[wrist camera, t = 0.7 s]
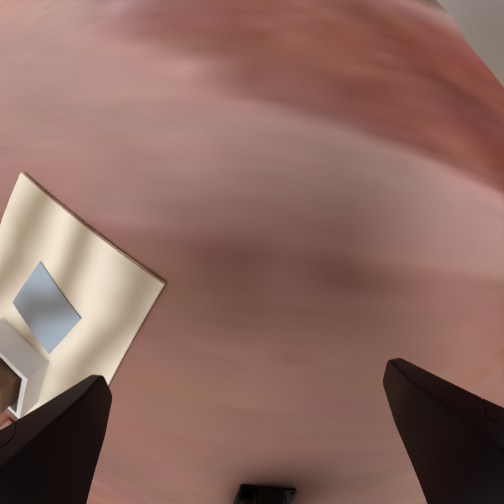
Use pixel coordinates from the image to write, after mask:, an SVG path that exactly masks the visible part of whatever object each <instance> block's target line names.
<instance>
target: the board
mask: <svg viewBox="0 0 504 504" xmlns="http://www.w3.org/2000/svg"><path fill="white" fill-rule="evenodd" d="M165 284H166V282H164V281H163V280H161V279H160V278H158V277H157V276H155V275H154V274H153V273H151V272H150V271H148V270H147V269H145V268H144V267H143V266H141V265H140V264H138V263H137V262H136V261H134V260H133V259H132V258H130V257H129V256H127V255H126V254H125V253H123V252H122V251H121V250H119V249H118V248H117V247H115V246H114V245H113V244H111V243H110V242H109V241H107V240H106V239H105V238H103V237H102V236H101V235H99V234H98V233H97V232H95V231H94V230H93V229H92V228H90V227H89V226H88V225H86V224H85V223H84V222H83V221H81V220H80V219H79V218H78V217H76V216H75V215H74V214H73V213H71V212H70V211H69V210H68V209H66V208H65V207H64V206H63V205H61V204H60V203H59V202H58V201H57V200H55V199H54V198H53V197H52V196H51V195H49V194H48V193H47V192H46V191H45V190H44V189H42V188H41V187H40V186H39V185H38V184H37V183H35V182H34V181H33V180H32V179H31V178H30V177H29V176H27V175H26V174H25V173H21V174H20V176H19V178H18V180H17V183H16V185H15V187H14V190H13V192H12V195H11V197H10V200H9V202H8V205H7V207H6V210H5V213H4V216H3V218H2V221H1V224H0V320H1V319H3V318H4V319H5V320H6V321H7V322H8V323H9V324H10V325H11V326H12V327H13V328H14V329H15V330H16V331H17V332H18V333H19V334H20V335H21V336H22V337H23V338H24V339H25V340H26V341H27V342H28V343H29V344H30V345H31V346H32V347H33V348H34V349H35V350H36V351H37V352H38V353H39V354H41V355H42V356H43V357H44V358H45V359H46V360H47V361H48V362H49V365H48V368H47V371H46V375H45V378H44V381H43V385H42V389H41V392H40V396H39V400H38V403H37V404H36V405H35V406H34V407H32V408H31V409H30V410H29V411H28V412H27V413H26V414H28V413H30V412H31V411H33V410H35V409H36V408H38V407H40V406H41V405H43V404H45V403H46V402H48V401H49V400H51V399H53V398H54V397H56V396H58V395H59V394H61V393H63V392H64V391H66V390H67V389H69V388H71V387H72V386H74V385H75V384H77V383H79V382H80V381H82V380H83V379H85V378H87V377H88V376H90V375H92V374H95V375H102V376H104V378H105V379H106V382H107V384H108V386H109V384H110V382H111V380H112V378H113V376H114V374H115V373H116V371H117V369H118V367H119V365H120V363H121V361H122V360H123V358H124V356H125V354H126V352H127V350H128V349H129V347H130V345H131V343H132V341H133V340H134V338H135V336H136V334H137V332H138V331H139V329H140V327H141V325H142V324H143V322H144V320H145V318H146V317H147V315H148V313H149V311H150V310H151V308H152V306H153V304H154V303H155V301H156V299H157V298H158V296H159V294H160V293H161V291H162V289H163V288H164V286H165ZM26 414H25V415H26ZM25 415H24V416H25Z"/></svg>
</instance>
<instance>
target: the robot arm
mask: <svg viewBox="0 0 504 504" xmlns="http://www.w3.org/2000/svg"><path fill="white" fill-rule="evenodd" d="M383 386H384V389H385V392H386V396H387V399H388V402H389V405H390V408H391V412H392V415H393V418H394V421H395V424H396V427H397V429H398V431H399V434H400V436H401V438H402V441H403V443H404V445H405V448H406V450H407V453H408V455H409V457H410V460H411V462H412V465H413V467H414V470H415V472H416V475H417V477H418V480H419V482H420V485H421V488H422V490H423V493H424V495H425V498H426V501H427V503H428V504H504V408H503V407H501V406H498V405H496V404H494V403H492V402H489V401H487V400H485V399H482V398H481V397H479V396H477V395H475V394H473V393H471V392H468V391H466V390H464V389H462V388H460V387H458V386H456V385H454V384H452V383H450V382H448V381H446V380H444V379H442V378H440V377H438V376H436V375H434V374H432V373H430V372H428V371H426V370H424V369H422V368H420V367H418V366H416V365H414V364H412V363H410V362H408V361H406V360H404V359H402V358H395V359H391V360H389V361H388V362H387V365H386V370H385V374H384V378H383ZM111 403H112V394H111V391H110V389H109V387H108V384H107V382H106V379H105V378H104V376H102V375H95V374H92V375H90V376H88V377H87V378H85V379H83V380H82V381H80V382H79V383H77V384H75V385H74V386H72V387H71V388H69V389H67V390H66V391H64V392H63V393H61V394H59V395H58V396H56V397H54V398H53V399H51V400H49V401H48V402H46V403H45V404H43V405H41V406H40V407H38V408H36V409H35V410H33V411H31V412H30V413H28V414H26V415H25V416H23V417H22V418H20V419H18V420H17V421H15V422H13V423H11V424H10V425H8V426H6V427H5V428H3V429H1V430H0V504H86V502H87V498H88V494H89V490H90V487H91V483H92V479H93V475H94V472H95V468H96V465H97V461H98V458H99V454H100V451H101V448H102V444H103V441H104V437H105V433H106V428H107V422H108V417H109V412H110V408H111ZM296 493H297V492H296V489H290V488H272V487H260V486H250V485H241V486H240V488H239V490H238V493H237V495H236V498H235V500H234V503H233V504H290V503H291V501H292V500H293V498H294V496H295V495H296Z"/></svg>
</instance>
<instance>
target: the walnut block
mask: <svg viewBox="0 0 504 504" xmlns="http://www.w3.org/2000/svg"><path fill="white" fill-rule="evenodd" d="M21 382H22V378H21V377H20V376H19V375H17V374H16V373H15V372H14V371H13V370H12V369H11V368H10V367H9V365H8V364H7V363H6V362H5V361H4V360H3V359H2V358H1V357H0V414H1V413H2V412H4V411H5V410H6V409H7V408H8V407H9V406H10V405H12V404H13V403H14V402H15V401H16V400H17V399H18V398H19V393H20V387H21Z"/></svg>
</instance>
